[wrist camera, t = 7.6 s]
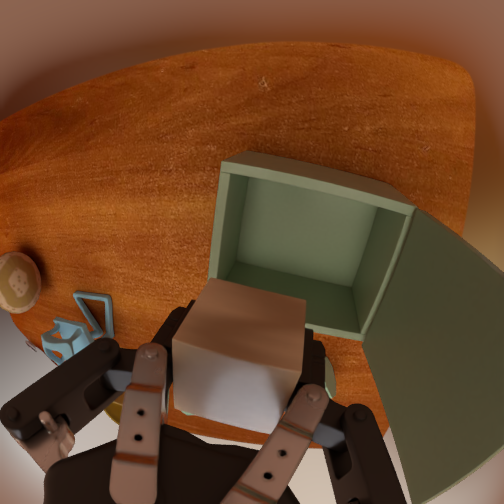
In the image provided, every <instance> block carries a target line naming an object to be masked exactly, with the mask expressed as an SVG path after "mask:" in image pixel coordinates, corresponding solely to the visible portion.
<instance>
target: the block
mask: <svg viewBox="0 0 504 504" xmlns="http://www.w3.org/2000/svg"><path fill="white" fill-rule="evenodd" d="M305 319H306V300H304V299H300V298H295V297H291V296H287V295H282V294H278V293H274V292H269V291H265V290H261V289H257V288H253V287H249V286H245V285H240V284H236V283H232V282H228V281H224V280H220V279H216V278H212V277H210V279H209V280H208V282H207V284H206V285H205V287H204V288H203V290H202V292H201V293H200V295H199V296H198V298H197V300H196V301H195V303H194V304H193V306H192V308H191V309H190V311H189V313H188V314H187V316H186V317H185V319H184V321H183V322H182V324H181V325H180V327H179V329H178V330H177V332H176V334H175V335H174V337H173V339H172V361H173V391H174V408H176V409H179V410H182V411H185V412H188V413H191V414H194V415H197V416H200V417H204V418H207V419H210V420H214V421H218V422H221V423H225V424H229V425H233V426H237V427H241V428H245V429H249V430H254V431H258V432H263V433H268V434H271V433H272V431H273V430H274V428H275V427H276V425H277V424H278V422H279V421H280V419H281V417H282V415H283V413H284V410H285V408H286V406H287V404H288V402H289V400H290V398H291V395H292V393H293V391H294V389H295V387H296V384H297V382H298V380H299V378H300V375H301V373H302V362H303V349H304V335H305Z"/></svg>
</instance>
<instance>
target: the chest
mask: <svg viewBox="0 0 504 504" xmlns="http://www.w3.org/2000/svg"><path fill="white" fill-rule="evenodd" d="M220 171H221V172H220V177H219V184H218V192H217V200H216V208H215V216H214V224H213V233H212V242H211V251H210V260H209V270H208V280H209V279H210V277H212V278H216V279H220V280H224V281H228V282H232V283H236V284H240V285H245V286H249V287H253V288H257V289H261V290H265V291H269V292H274V293H278V294H282V295H287V296H291V297H295V298H300V299H304V300H306V319H305V328H309V329H313V332H317V333H322V334H327V335H332V336H337V337H342V338H348V339H353V340H359V341H364V339H365V337H366V335H367V333H368V331H369V329H370V327H371V325H372V323H373V321H374V319H375V316H376V314H377V312H378V310H379V308H380V306H381V303H382V301H383V299H384V296H385V294H386V292H387V289H388V287H389V285H390V282H391V280H392V277H393V275H394V272H395V270H396V267H397V265H398V262H399V260H400V257H401V254H402V252H403V249H404V246H405V243H406V241H407V238H408V235H409V232H410V229H411V226H412V223H413V220H414V217H415V214H416V211H417V209H419V208H418V207H417V206H416V205H415V204H413V203H412V202H411V201H410V200H409V199H407V198H406V197H405V196H404V195H403V194H401V193H400V192H399V191H398V190H396V189H395V188H394V187H393V186H391V185H390V184H388V183H385V182H381V181H378V180H374V179H371V178H367V177H364V176H360V175H356V174H353V173H349V172H345V171H341V170H337V169H333V168H329V167H325V166H321V165H317V164H312V163H308V162H303V161H299V160H294V159H289V158H285V157H280V156H275V155H269V154H264V153H259V152H253V151H244V152H242V153H239V154H237V155H235V156H232V157H230V158H227V159H225V160H223V161H222V162H221V169H220ZM208 280H207V282H208Z"/></svg>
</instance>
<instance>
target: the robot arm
mask: <svg viewBox="0 0 504 504" xmlns="http://www.w3.org/2000/svg"><path fill="white" fill-rule="evenodd" d="M195 301H196V300H191V301H190V303H189V305H188V306H187V308H184V307H178V308H176V309H175V310H173V311H172V312H171V313H170V315H169V316H168V318H167V319H166V320H165V322H164V324H163V325H162V326H161V328H160V329H159V331H158V332H157V334H156V335H155V336H154V338H153V339H152V341H151V342H150V343H145V344H143V345H141V346H140V347H139V348H138V349H124V348H120V347H119V344H118V343H117V341H115V340H114V339H112V338H107V337H104V338H99V339H97V340H95V341H94V342H92V343H91V344H89V345H88V346H86V347H85V348H83V349H82V350H81V351H79V352H78V353H76V354H75V355H73V356H72V357H70V358H69V359H68V360H66V361H65V362H63V363H62V364H60V365H59V366H58V367H56V368H55V369H53V370H52V371H51V372H49V373H48V374H46V375H45V376H43V377H42V378H40V379H39V380H38V381H36V382H35V383H33V384H32V385H31V386H29V387H28V388H26V389H25V390H24V391H22V392H21V393H19V394H18V395H17V396H15V397H14V398H12V399H11V400H10V401H8V402H7V403H6V404H4V405H3V407H2V408H1V410H0V420H1V423H2V424H3V425H4V427H5V428H6V429H7V430H8V431H9V433H10V435H11V436H12V437H13V438H14V439H15V440H16V441H17V443H18V444H20V446H21V447H22V448H23V449H25V450H26V451H27V452H28V453H29V454H30V456H31V457H32V458H33V459H34V460H35V462H36V463H37V464H38V465H39V466H40V468H41V469H42V470H43V471H44V472H45V473H46V475H45V479H44V503H43V504H300V503H299V501H298V500H297V498H296V497H295V495H294V494H293V492H292V491H291V489H290V487H289V486H288V483H289V482H290V480H291V478H292V476H293V474H294V473H295V471H296V469H297V467H298V466H299V464H300V462H301V460H302V458H303V456H304V455H305V453H306V450H307V449H308V447H309V445H310V443H311V441H313V442H315V443H318V444H320V445H322V448H323V451H324V455H325V459H326V463H327V467H328V471H329V475H330V479H331V483H332V487H333V491H334V495H335V499H336V503H337V504H407V502H406V500H405V497H404V494H403V491H402V488H401V485H400V483H399V480H398V477H397V474H396V471H395V469H394V466H393V463H392V461H391V458H390V455H389V453H388V450H387V448H386V445H385V442H384V440H383V437H382V435H381V432H380V430H379V427H378V425H377V422H376V420H375V417H374V415H373V413H372V411H371V410H370V409H369V408H368V407H367V406H365V405H362V404H352V405H349V406H348V407H345V406H342V405H340V404H338V403H336V402H334V401H333V400H331V399H330V398H329V395H328V393H327V391H326V390H325V348H324V346H323V344H322V342H321V341H316V340H313V329H309V328H305V335H304V349H303V362H302V373H301V375H300V378H299V380H298V382H297V384H296V387H295V389H294V391H293V393H292V395H291V398H290V400H289V402H288V404H287V406H286V408H285V410H284V411H285V414H284V416H283V417H282V419H281V420H280V421H279V422H278V424H277V425H276V427H275V428H274V430H273V431H272V433H271V434H270V436H269V437H268V439H267V440H266V442H265V443H264V445H263V446H262V448H261V449H260V450H255V449H250V448H246V447H241V446H237V445H220V444H209V443H206V442H205V441H203V440H201V439H199V438H197V437H196V436H194V435H192V434H190V433H189V432H187V431H185V430H182V429H179V428H176V427H173V426H170V425H167V421H168V401H169V388H170V386H171V384H172V382H173V361H172V339H173V337H174V335H175V334H176V332H177V330H178V329H179V327H180V325H181V324H182V322H183V321H184V319H185V317H186V316H187V314H188V313H189V311H190V309H191V308H192V306H193V304H194V303H195ZM124 392H125V394H124V400H123V405H122V411H121V417H120V424H119V430H118V437H117V439H115V440H113V441H110V442H108V443H105V444H103V445H100V446H98V447H95V448H92V449H90V450H87V451H84V452H81V453H78V454H76V455H73V456H70V457H68V453H69V452H70V451H71V450H72V448H73V446H74V444H75V437H74V435H75V434H76V433H77V432H78V431H80V430H81V429H82V428H83V427H84V426H85V425H87V424H88V423H89V422H90V421H91V420H92V419H94V418H95V417H96V416H97V415H98V414H100V413H101V412H102V411H103V410H104V409H105V408H107V407H108V406H109V405H110V404H111V403H112V402H113V401H115V400H116V399H117V398H118V397H119V396H120V395H122V394H123V393H124Z"/></svg>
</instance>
